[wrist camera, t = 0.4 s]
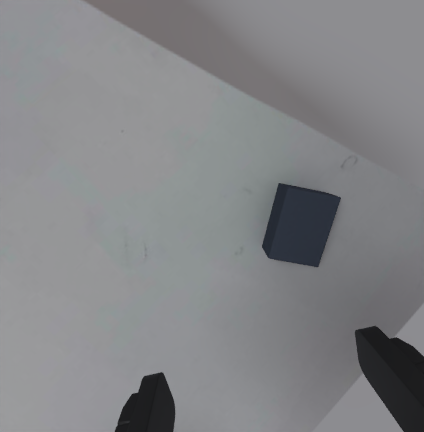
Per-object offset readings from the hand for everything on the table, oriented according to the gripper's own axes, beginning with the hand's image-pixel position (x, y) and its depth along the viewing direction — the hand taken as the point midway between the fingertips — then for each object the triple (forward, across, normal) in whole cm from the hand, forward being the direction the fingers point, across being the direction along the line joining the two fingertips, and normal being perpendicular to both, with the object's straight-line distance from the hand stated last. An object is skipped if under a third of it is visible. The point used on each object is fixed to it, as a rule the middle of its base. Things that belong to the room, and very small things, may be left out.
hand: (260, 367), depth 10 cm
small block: (+16, -7, 0) cm, 18 cm away
